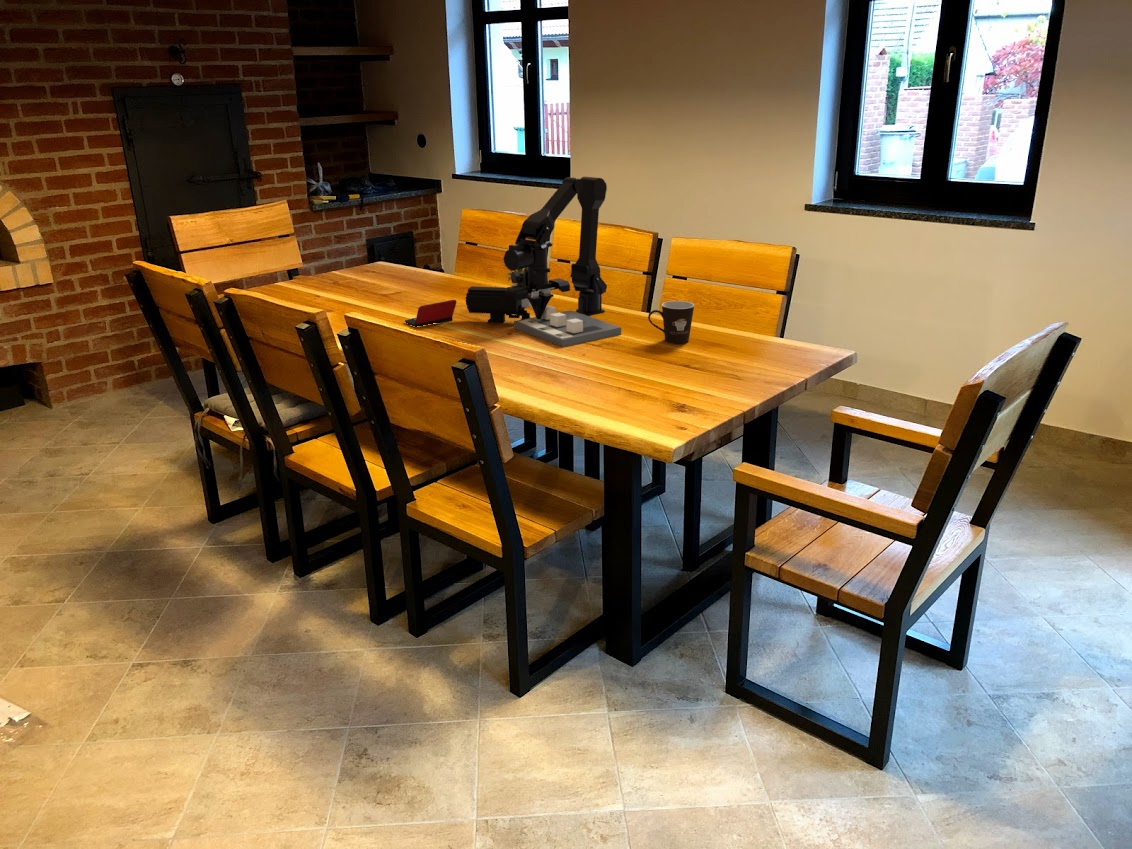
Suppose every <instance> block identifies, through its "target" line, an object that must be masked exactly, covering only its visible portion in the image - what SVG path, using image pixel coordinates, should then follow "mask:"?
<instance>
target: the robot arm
mask: <svg viewBox="0 0 1132 849" xmlns="http://www.w3.org/2000/svg"><path fill="white" fill-rule="evenodd" d="M607 188H608V187H607V182H606V180H604V179H603V178H601V177H595V176H582V177H580V178H579V177H570V176H568V177H565V178H564V179H563V180H562V182H561V185H560V186H558V188H557V190H556V191H555V192H554V193H553V194H552V196H551V197H550V198H549V199H548V200H547V201H546V203H545V204H544V205H543V207H542V208H541V209H540V210H538V211H536V212H534V213H532V214H530V215H529V216H528V217H527V218H525V220H523V222H522V224H521V229H520V231H519V233H518V235H517V236H516V240H515V242H514V244H509V245H508V249H507V250H506V251H505V253H504V254H503V255H504V256H503V263H504V266H505V267H506V268H507V270H509V271H510V270H511V271H512V272H511V271H510V273H511V280H510V281H511V283H512V285H514V284H515V283H516V284H517V285H518V286H512V285H511V286H507V287H505V288H506V290H505V297H507V298H510V299H512V300H523V299H526V298H527V299H528V300H529V302H530V304H531V308H532V310H533V312H534V315H535V316H534V317H536V318H537V319H541V317H542V315H543V313H544V310H545V308H546V306H548V304H549V302H550V300H551V299H552V298H553V297H554V294H553V293H552V291H553V290H554V291H555V290H558V291H560V292H561V293H565V292H570V291H571V284H572V285H573V289H574V291H575V292H579V293H578V298H577V308H576V309H575V312H578V313H581V314H584V315H587V316H590V315H595V314H601V313H605V312H606V311H605V309H603V308H602V307H603V306H602V304H603V303H602V299H603V298H602V296H603V295H604V293H607V292H606V291H607V289H608V285H607V284H606V282H605V281H604V279H602V277H601V268H600V266H599V263H598V261H597V259H596V258H597V243H598V228H599V225H598V224H599V215H600V214H599V212H600V208H601V207H602V205H603V204H604V202H605V199H606V196H607V195H606V194H607ZM575 197H576V198H577V200H578V203H579V206H580V207H581V220H580V233H579V234H580V235H579V236H580V237H579V248H578V249H579V250H578V252H579V253H578V258H577V260H576V262H575V263H571V266H570V269H571V270H570V271H571V272H570V278H571V282H572V283H570V282H569V280H566V279H563V278H552V279H549V278H548V277H549V276H548V273H551V268H549V267H548V248H550V247H553V243H552V242H550V241H549V240H548V239H550V236H551V234H553V231H554V229H555V222H556V220H557V219H558V217H559V216H560V215H561V214H562V213H563V212H564V210H565V209H566V208H567V206H568V205H570V203H571V202H572V201H573V199H574V198H575ZM522 268H523V270H524V273H521V274H520V273H519V271H518V269H522ZM514 270H516V272H515V271H514ZM548 279H549V280H548ZM521 285H523V286H528V287H527V288H523V287H520V286H521Z"/></svg>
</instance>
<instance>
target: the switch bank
mask: <svg viewBox="0 0 1132 849" xmlns="http://www.w3.org/2000/svg"><path fill="white" fill-rule="evenodd" d="M560 313H562V314H565V315H566V325H565V326H560V327H555V326H552V325H550V319H549V320H546V319H543V318H541V319H537V318H536V316H534V317H531V318H528V319H523V320H521V319H519V320H514V321H513V325H514V326H513V328H514V329H515V330H519V331H521V332H523V333H527V334H529V335H531V336H533V337H536V338H538V339H541V340H544V341H546V342H549V343H551V344H554V345H556V346H559V347H562V348H565V347H569V346H574V345H579V344H585V343H588V342H592V341H597V340H602V339H605V338H610V337H616V336H620V334H621V335H622V326H620V325H619V326H618V325H616V324H613V323H610V322H607V321H604V320H601V319H599V318H598V319H597V318H596V317H592V316H590V315H587V314H584V313H581V312H578V311H576V310H572V309H569V310H565V311H560ZM575 318H576V319H579V320H582V321H583V332H578V333H571V332H568V331H567V320H570V319H575Z"/></svg>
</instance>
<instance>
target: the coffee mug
mask: <svg viewBox="0 0 1132 849" xmlns="http://www.w3.org/2000/svg"><path fill="white" fill-rule="evenodd" d="M661 309H662V311H661V310H658V309H655V310H651V311H650V312H649V313H648V316H647V319H648V321H649V323H650V324H651V325H652V326H653V327H654V328H656V329H658V330H660V331H661V332H663V336H664V341H665V343H667V344H671V345H685V344H688V343H689V341H690V335H691V329H692V322H693V316H694V310H695V304H694V302H693V303H692V302H690V301H684V300H669V301H666V302H665V301H664V302H663V303H662V304H661ZM655 313H657V314H659V315H660V316H661V318H662V322H663V328H662V327H660V326H658V325H656V324H655V323H653V321H652V320H651V315H653V314H655Z"/></svg>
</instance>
